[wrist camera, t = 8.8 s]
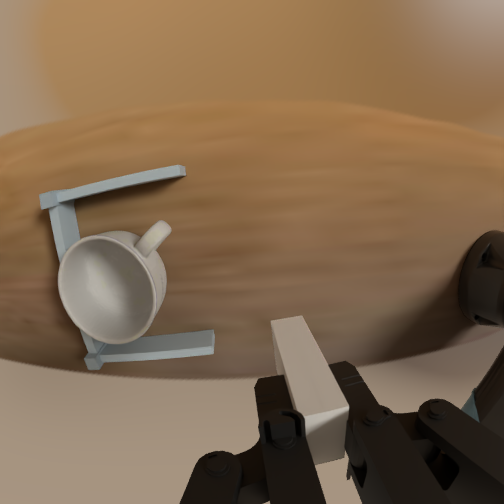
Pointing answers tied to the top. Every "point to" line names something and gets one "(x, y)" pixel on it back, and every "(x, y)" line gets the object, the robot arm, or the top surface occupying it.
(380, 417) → the robot arm
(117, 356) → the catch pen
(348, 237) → the top surface
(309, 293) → the top surface
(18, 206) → the top surface
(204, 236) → the top surface
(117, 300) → the teacup
